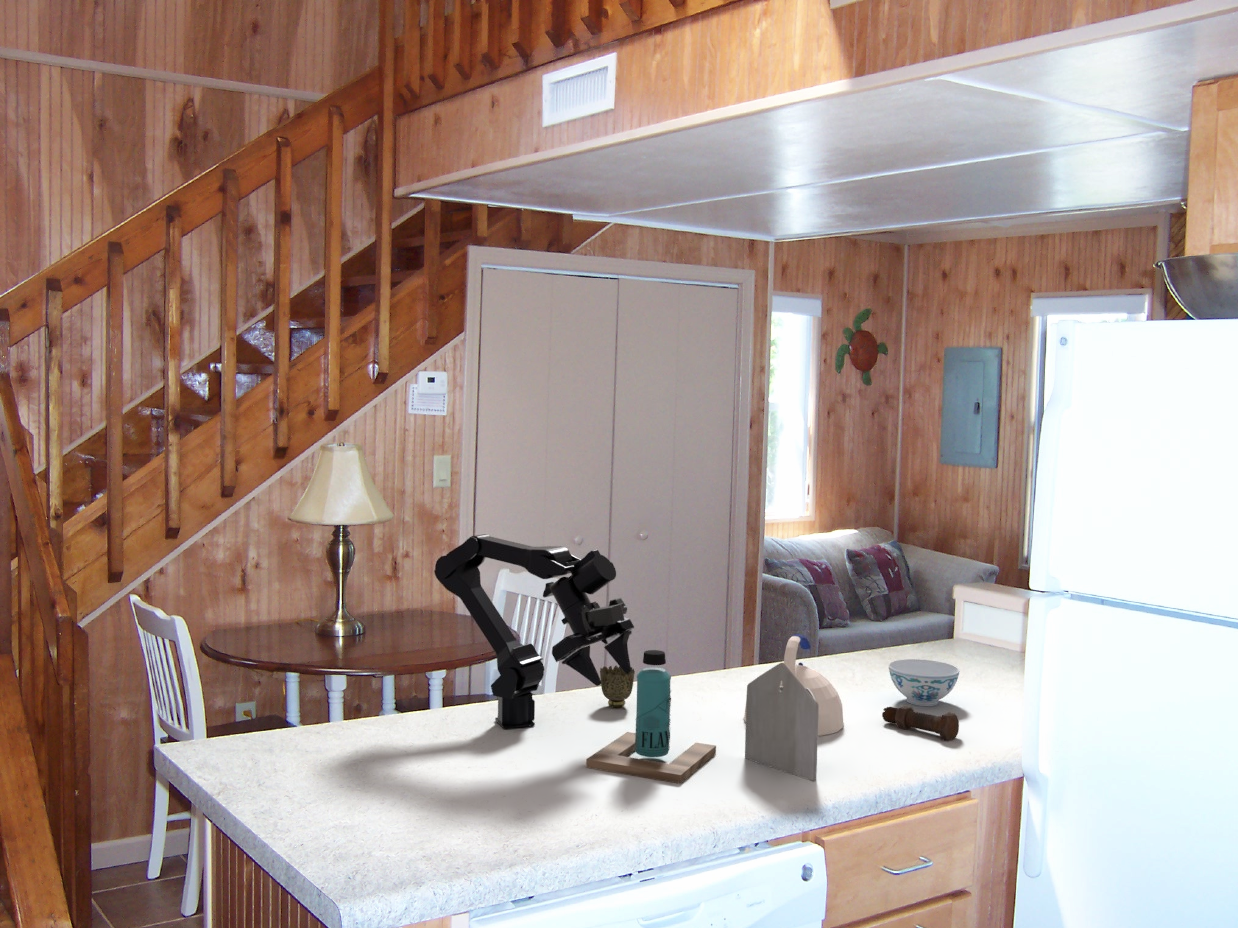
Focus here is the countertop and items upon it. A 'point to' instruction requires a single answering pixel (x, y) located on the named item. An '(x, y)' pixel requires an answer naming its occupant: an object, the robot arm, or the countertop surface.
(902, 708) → the bolt
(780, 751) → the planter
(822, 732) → the kettle
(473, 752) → the countertop surface
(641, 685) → the beverage bottle
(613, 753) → the notched board
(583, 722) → the countertop surface
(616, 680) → the cup
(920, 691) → the chinaware
